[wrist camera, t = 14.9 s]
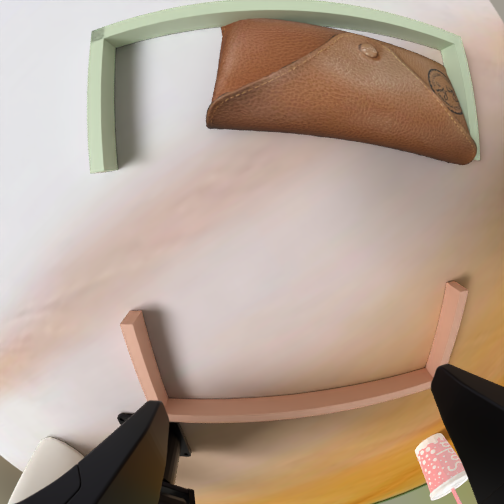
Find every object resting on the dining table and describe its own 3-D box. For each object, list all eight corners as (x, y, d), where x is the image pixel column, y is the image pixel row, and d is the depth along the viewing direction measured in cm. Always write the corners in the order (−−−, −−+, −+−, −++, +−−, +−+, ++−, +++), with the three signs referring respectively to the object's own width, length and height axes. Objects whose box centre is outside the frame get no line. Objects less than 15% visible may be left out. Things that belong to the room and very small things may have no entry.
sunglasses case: (451, 64, 14) (505, 93, 10) (430, 135, 19) (472, 179, 15) (215, 16, 14) (197, 16, 9) (215, 106, 19) (200, 145, 14)
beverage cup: (453, 430, 27) (491, 495, 13) (423, 456, 28) (454, 521, 15) (434, 427, 26) (476, 502, 12) (402, 455, 27) (433, 530, 14)
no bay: (430, 372, 22) (439, 384, 20) (160, 405, 22) (156, 420, 20) (454, 280, 19) (468, 290, 17) (129, 310, 19) (119, 324, 17)
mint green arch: (463, 159, 16) (480, 160, 15) (105, 172, 17) (90, 173, 15) (446, 43, 14) (460, 36, 12) (104, 41, 14) (91, 31, 12)
